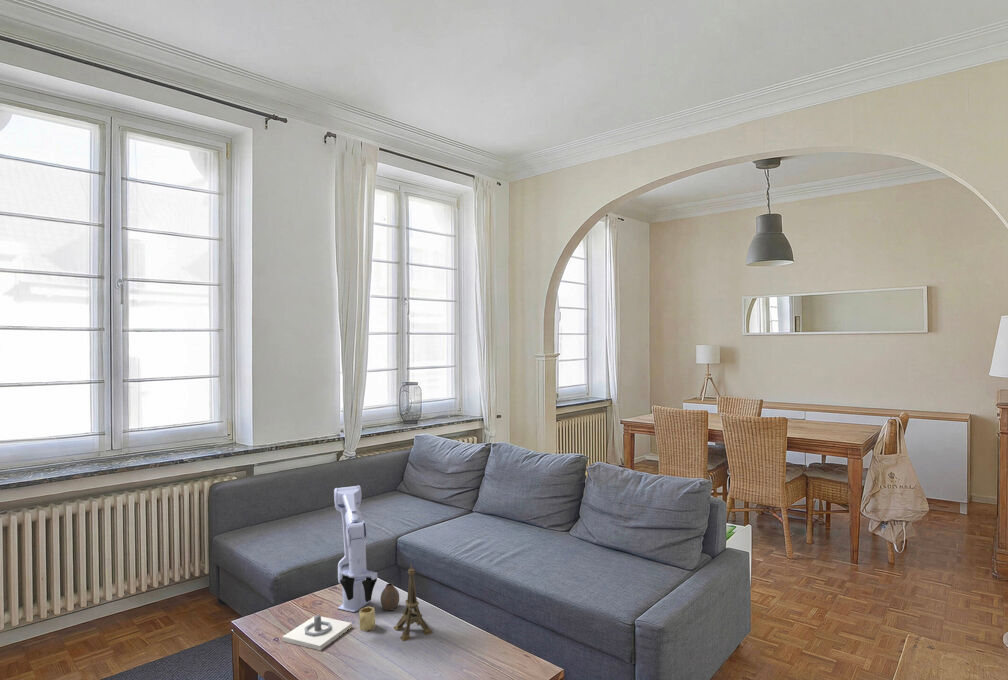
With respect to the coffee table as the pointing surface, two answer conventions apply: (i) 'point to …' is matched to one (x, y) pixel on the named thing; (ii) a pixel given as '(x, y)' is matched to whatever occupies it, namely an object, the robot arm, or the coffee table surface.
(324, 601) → the coffee table surface
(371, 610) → the collar
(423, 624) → the eiffel tower
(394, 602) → the vase
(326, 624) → the post board
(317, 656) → the coffee table surface
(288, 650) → the coffee table surface
